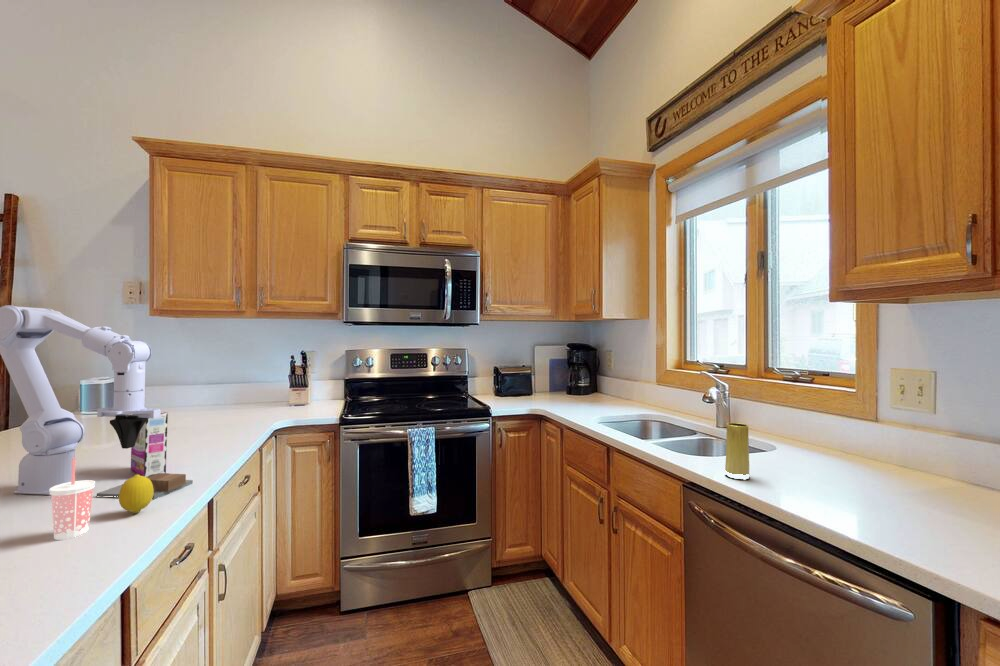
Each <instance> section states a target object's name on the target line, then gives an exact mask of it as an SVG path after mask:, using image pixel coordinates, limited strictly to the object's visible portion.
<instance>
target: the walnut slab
mask: <svg viewBox="0 0 1000 666" xmlns="http://www.w3.org/2000/svg"><path fill="white" fill-rule="evenodd" d="M186 476H187V474H185V473H170V472H169V473H167V472H166V473H158V474H155V475H152V476H149V477H147V478H149V479H150V480H151V482H152V485H153V489H154V491H170V490H173V489H175V488H177V487H180V486H182V485H185V484H186V480H187V477H186Z"/></svg>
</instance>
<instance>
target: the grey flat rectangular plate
mask: <svg viewBox="0 0 1000 666" xmlns="http://www.w3.org/2000/svg"><path fill="white" fill-rule="evenodd" d="M193 482H194V481H193V480H192V479H186V484H185V485H182V486H180V487H177V488H175V489H173V490H170V491H154V493H153V498H152V500H156V499H158V497H159V498H160V497H163V495H164V496H166V495H169V494H171V493H173V492H176V491H178V490H180V489H182V488H185V487H187V486H190V485H192V484H193ZM123 484H124V483H122V484H120V485H117V486H114V487H111V488H108V489H106V490H103V491H100V492H96V497H97V496H113V497H114V496H116V497H117V496H118V497H119V492H120V489H121V487H122V485H123ZM170 492H171V493H170ZM165 494H166V495H165Z"/></svg>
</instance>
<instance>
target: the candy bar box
mask: <svg viewBox="0 0 1000 666" xmlns="http://www.w3.org/2000/svg"><path fill="white" fill-rule="evenodd" d="M131 415H134V414H131ZM168 416H169V413H168V412H166V411H162V410H161V417H158V418H147V421H146V422H145V424H144V425H143V427H142V428H141V430H140V432H139V435H138V437H137V440H136V443H135V446H134V447H131V448H130V450H131V451H130V472H132V471H133V472H132V473H134V472H135V473H134V474H136V473H137V474H139V475H141V476H145V477H149V476H152V475H155V474H158V473H167V450H168V449H167V447H168V446H167V444H168V443H167V442H168V421H169V420H168V418H169V417H168ZM137 474H136V475H137Z"/></svg>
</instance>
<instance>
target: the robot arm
mask: <svg viewBox="0 0 1000 666" xmlns="http://www.w3.org/2000/svg"><path fill="white" fill-rule="evenodd" d="M53 332H56V333H60V334H62V335H66V336H68V337H71V338H74V339H77V340H79V341H81V344H82V347H84V348H85V349H88V350H90V351H92V352H95V353H97V354H100V355H102V356H104V357H107V359H108V360H109V362H110V363H111V366H112V369H111V370H112V371H113V405H112V407H102V408H96V409H97V410H96V412H97V415H96V417H97V418H103V417H105V418H106V417H108V418H109V417H111V418H112V417H113V418H114V419H110V420H109V424H110V425H111V426H112V428H113V430H114V431H115V433H116V434H117V437H118V440H119V442H120V446H121V449H131V447H134V446H135V443H136V440H137V437H138V435H139V432H140V430H141V428H142V427H143V425H144V424H145V422H146V421H147V418H158V417H161V411H162V410H161V409H160V408H151V407H145V401H146V399H145V398H146V397H145V395H146V363H147V362H148V361H149V360H150V359H151V358H152V354H153V350H152V347H151V345H150V344H149V343H148V342H146V341H145V340H144V339H135V340H132V339H131V338H130V336H129V335H127V334H119V333H117V332H114V331H112V327H110V326H106V325H105V326H96V327H89V326H87V325H86V324H83V323H82V322H79V321H77V320H76V319H73V318H71V317H69V316H67V315H65V314H63V313H62V312H61V311H59V310H54V309H52V308H48V307H30V306H29V307H28V306H15V305H11V304H10V305H9V304H8V305H2V306H0V356H1V359H2V361H3V363H4V365H5V367H6V369H7V372H8V374H9V377H10V378H11V380H12V382H13V385H14V387H15V389H16V393H17V394H18V396H19V398H20V400H21V402H22V404H23V405H22V406H23V407H24V410H25V411H26V414H27V416H28V418H27V419H26V420H25V421H23V423H22V424H21V425H20V427H19V430H20V432H21V445H22V447H23V449H24V450H25V451H26V452H27V454H25V455H24V456H23V457H22V458H21V459H20V461H19V463H18V481H17V482H18V484H17V485H18V486H17V488H18V489H16V490H14V491H13V494H26V495H50V492H49V489H50V488H51V487H53V486H56V485H59V484H63V483H67V482H71V473H72V458H75V459H76V449H77V448H78V447H79V443H81V442H82V441H83V439H84V437H85V435H86V434H85V433H86V430H85V427H84V425H83V423H82V422H80V421H79V420H78V419H77V418H76V416H75V414H74V413H73V412H71V411H69V410H66V409H64V408H61V405H60V403H59V401H58V399H57V396H56V395H55V391H54V390H53V387H52V386H51V383H50V381H49V379H48V376H47V375H46V372H45V370H44V367H43V365H42V364H41V361H40V359H39V357H38V354H37V352H36V351H35V349H36V348H37V346H38V345H40V344H41V343H43V342H44V341H45V340H46V339H47V338H48V337H49V336H50V335H51V334H52V333H53ZM132 414H134V415H132ZM50 496H51V495H50Z"/></svg>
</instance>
